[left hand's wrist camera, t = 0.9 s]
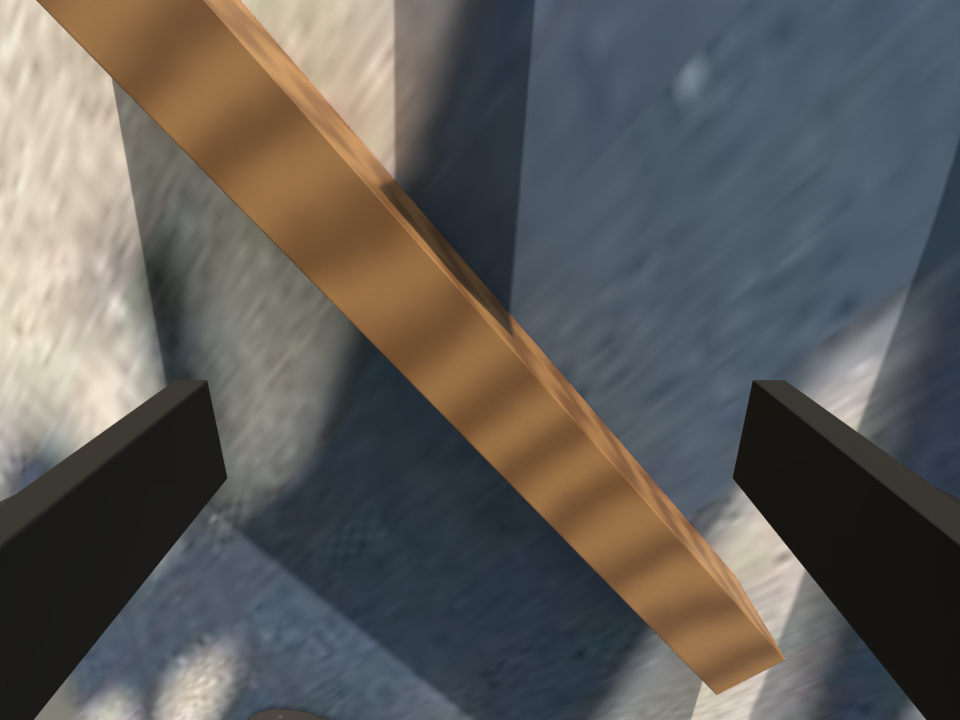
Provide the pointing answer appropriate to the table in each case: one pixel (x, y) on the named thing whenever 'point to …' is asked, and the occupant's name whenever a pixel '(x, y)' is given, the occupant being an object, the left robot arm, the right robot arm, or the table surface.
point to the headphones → (284, 715)
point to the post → (419, 306)
